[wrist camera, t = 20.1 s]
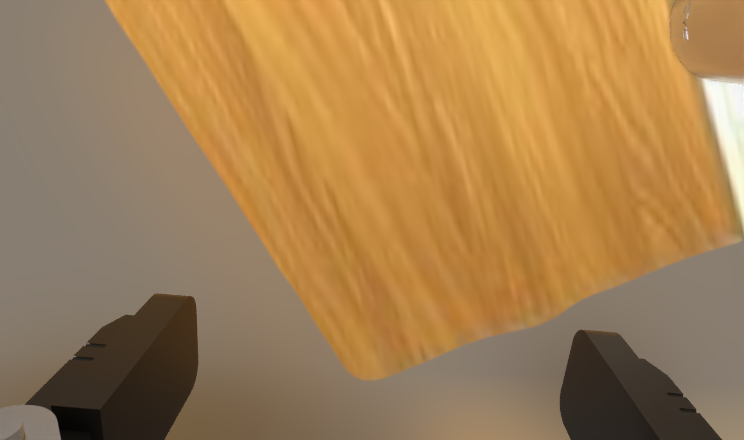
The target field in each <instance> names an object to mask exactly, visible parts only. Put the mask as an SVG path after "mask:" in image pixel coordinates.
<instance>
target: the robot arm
mask: <svg viewBox="0 0 744 440" xmlns="http://www.w3.org/2000/svg"><path fill="white" fill-rule="evenodd" d="M670 34H671V41H672V44H673V48H674V51H675V53H676V54H677V56H678V58H679V60H680V62H681V63H682V64H683V65H684V66H685V67H686V68H687V69H688V70H689V71H690V72H692V73H694V74H695V75H697V76H699V77H701V78H704V79H707V80H710V81H716V82H725V83H734V84H742V85H744V0H675V2H674V5H673V8H672V13H671V20H670ZM197 341H198V340H197V314H196V303H195V300H194V298H193V297H191V296H180V295H167V294H154V295H153V296H152V297H151V298H150V299H149V300H148V301H147V302H146V303H145V304H144V306H143V307H142V308H141V309H140V310H139V311H138V312H137V313H136V314H135V315H134V316H132V315H124V316H123V317H121V318H119V319H117V320H115V321H113V322H111V323H109V324H107V325H106V326H104V327H102V328H101V329H100V330H99V331H98V332H97V333H96V334H95V335H94V336H93V337H92V338H91V339H90V340H89V341H88V342H87V344H86V346H83V347H82V348H81V349H80V350H79V351H78V352H77V353H76V354H75V355H74V356H73V359H72V360H69V361H68V362H67V363H66V364H65V365H64V366H63V367H62V368H61V369H60V370H59V371H58V372H57V373H56V374H55V375H54V376H53V377H52V378H51V379H50V380H49V381H48V382H47V383H46V384H45V385H44V386H43V387H42V388H41V389H40V390H39V391H38V392H37V393H36V394H35V395H34V396H33V397H32V398H31V399H30V400H29V401H28V402H27V403H26V404H25V405H17V406H10V407H5V408H1V409H0V440H164V439H165V438H166V436H167V434H168V432H169V431H170V428H171V427H172V425H173V423H174V421H175V420H176V418H177V416H178V414H179V413H180V411H181V409H182V407H183V406H184V404H185V402H186V400H187V398H188V397H189V395H190V393H191V391H192V389H193V386H194V383H195V380H196V376H197V370H198V342H197ZM560 412H561V417H562V421H563V424H564V426H565V428H566V430H567V433H568V435H569V437H570V439H571V440H722V439H721V438H720V437H719V436H718V434H717V433H716V432H715V431H714V430H713V429H712V427H711V426H710V425H709V424H708V423H707V421H706V420H705V419H704V418H703V417H702V416H701V414H700V413H696V409H695V407H694V406H693V405H692V404H691V403H690V401H689V400H688V399H687V398H685V397H683V393H682V392H681V391H680V390H679V388H678V387H677V386H676V385H675V384H674V383H673V381H672V380H671V379H670V378H669V377H668V376H667V375H666V374H665V373H663V372H662V371H660V370H659V369H658V368H656V367H655V366H653V365H652V364H650V363H649V362H648V361H646V360H645V359H639V358H638V357H637V355H636V354H635V353H634V352H633V350H632V349H631V348H630V347H629V345H628V344H627V343H626V342H625V340H624V339H623V338H622V337H621V336H620V335H619V334H618V333H614V332H613V333H612V332H601V331H590V330H579V331H578V332H577V333H576V334H575V336H574V338H573V342H572V346H571V350H570V355H569V359H568V363H567V367H566V371H565V376H564V380H563V384H562V388H561V393H560Z"/></svg>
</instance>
